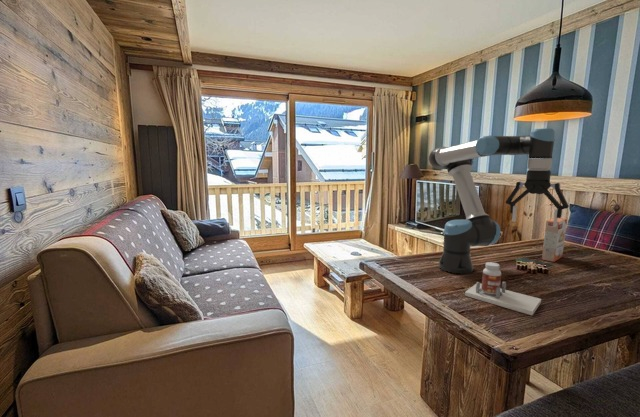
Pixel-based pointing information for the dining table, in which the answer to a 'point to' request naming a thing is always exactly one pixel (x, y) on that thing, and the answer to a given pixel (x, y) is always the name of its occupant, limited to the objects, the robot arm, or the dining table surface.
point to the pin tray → (505, 298)
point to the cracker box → (554, 240)
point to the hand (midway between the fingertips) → (533, 223)
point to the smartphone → (534, 262)
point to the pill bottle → (491, 278)
